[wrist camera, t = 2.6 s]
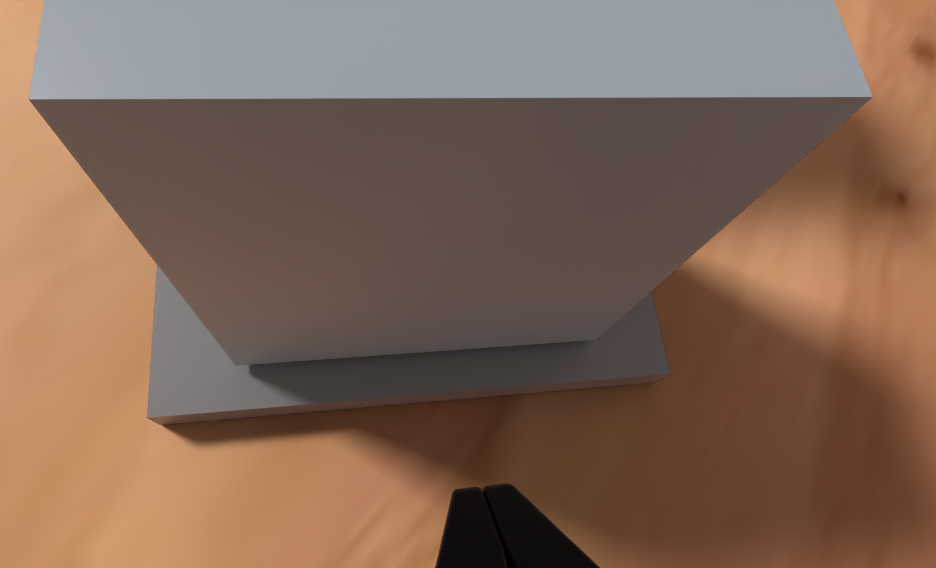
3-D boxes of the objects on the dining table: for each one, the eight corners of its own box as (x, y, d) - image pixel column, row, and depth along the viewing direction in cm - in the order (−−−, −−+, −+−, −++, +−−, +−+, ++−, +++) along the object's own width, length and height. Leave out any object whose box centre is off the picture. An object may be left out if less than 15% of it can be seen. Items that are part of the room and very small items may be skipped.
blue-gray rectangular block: (595, 339, 17) (872, 96, 7) (235, 366, 15) (28, 99, 6) (564, 174, 18) (757, -188, 9) (238, 181, 17) (83, -243, 8)
